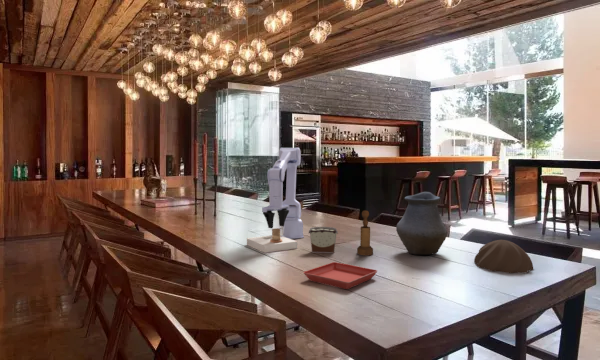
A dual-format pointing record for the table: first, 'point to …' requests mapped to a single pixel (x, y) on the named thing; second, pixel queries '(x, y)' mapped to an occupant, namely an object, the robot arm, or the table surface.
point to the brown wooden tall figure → (365, 237)
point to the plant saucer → (340, 275)
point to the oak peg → (276, 236)
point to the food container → (323, 239)
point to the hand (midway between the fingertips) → (276, 227)
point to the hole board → (271, 244)
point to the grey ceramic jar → (422, 225)
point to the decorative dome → (503, 257)
